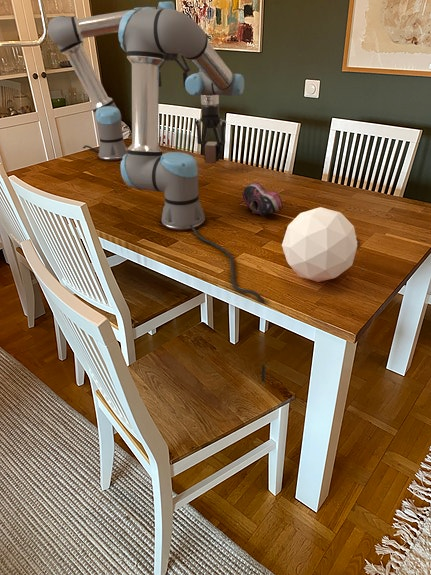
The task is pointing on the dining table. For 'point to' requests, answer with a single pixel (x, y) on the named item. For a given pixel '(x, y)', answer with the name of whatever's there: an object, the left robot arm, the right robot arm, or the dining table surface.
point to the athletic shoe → (261, 200)
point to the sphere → (320, 244)
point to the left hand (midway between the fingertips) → (172, 86)
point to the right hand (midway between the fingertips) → (211, 160)
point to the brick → (210, 152)
